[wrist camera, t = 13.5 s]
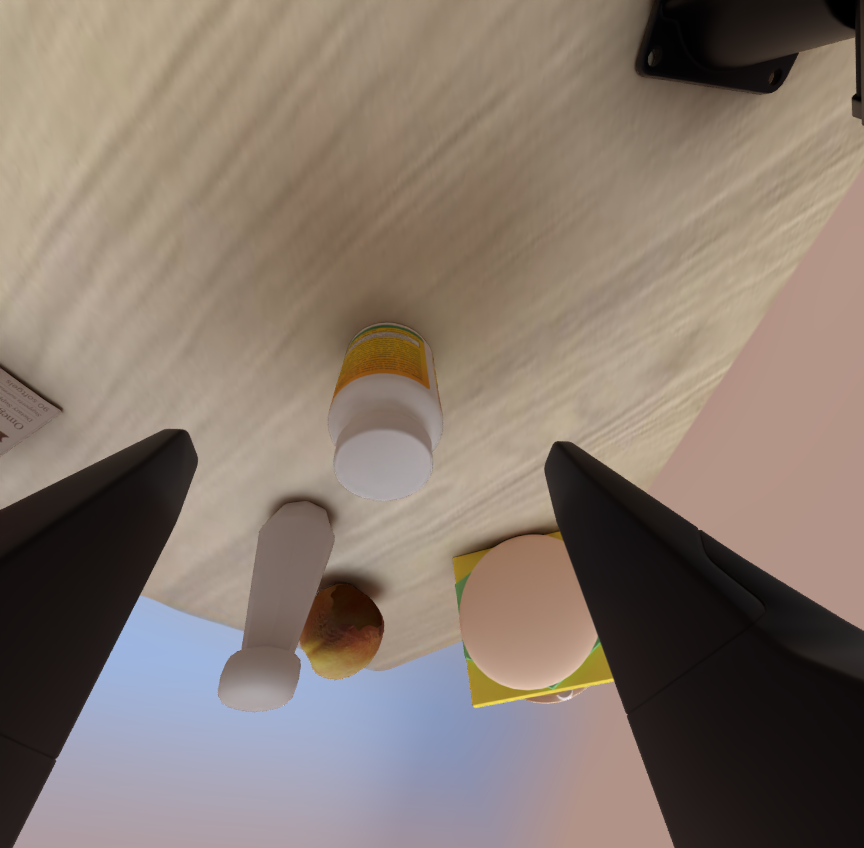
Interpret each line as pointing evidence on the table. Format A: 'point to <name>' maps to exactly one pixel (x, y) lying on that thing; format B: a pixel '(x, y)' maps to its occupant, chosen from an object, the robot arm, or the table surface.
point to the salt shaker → (278, 608)
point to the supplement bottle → (385, 413)
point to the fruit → (341, 631)
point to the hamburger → (526, 623)
